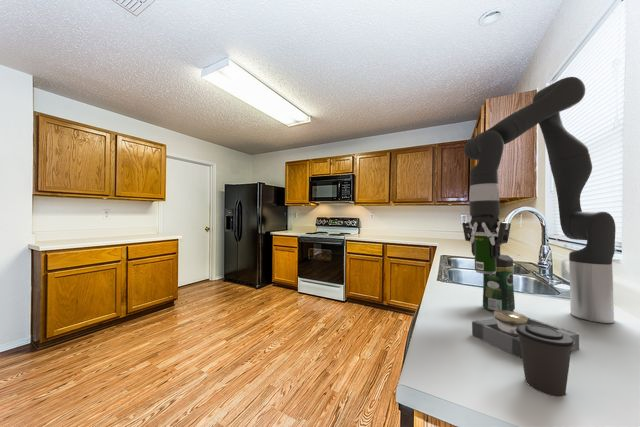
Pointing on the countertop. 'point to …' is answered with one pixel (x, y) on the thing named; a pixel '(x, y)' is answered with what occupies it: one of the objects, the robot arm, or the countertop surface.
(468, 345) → the countertop surface
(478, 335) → the grey rectangular frame
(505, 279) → the coffee jar
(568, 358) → the coffee cup
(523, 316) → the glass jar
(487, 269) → the green metal cylinder
